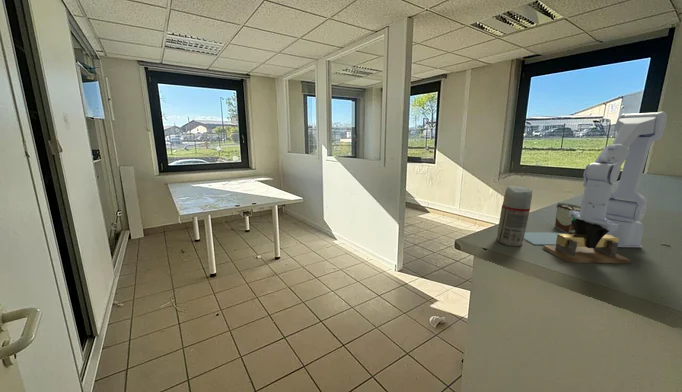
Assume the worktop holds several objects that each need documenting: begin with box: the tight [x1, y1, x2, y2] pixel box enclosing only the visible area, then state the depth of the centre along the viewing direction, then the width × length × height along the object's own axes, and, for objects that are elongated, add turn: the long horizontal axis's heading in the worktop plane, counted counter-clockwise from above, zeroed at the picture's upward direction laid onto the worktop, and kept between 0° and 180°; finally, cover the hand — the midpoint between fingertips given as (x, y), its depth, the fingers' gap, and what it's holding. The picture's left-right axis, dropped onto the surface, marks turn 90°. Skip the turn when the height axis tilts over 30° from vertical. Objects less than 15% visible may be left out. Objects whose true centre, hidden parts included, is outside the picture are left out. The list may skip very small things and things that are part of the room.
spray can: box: [495, 185, 533, 247], centre depth 92 cm, size 8×8×20 cm
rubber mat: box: [523, 231, 567, 246], centre depth 98 cm, size 20×12×1 cm, turn 89°
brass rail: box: [556, 234, 619, 247], centre depth 83 cm, size 16×3×3 cm, turn 89°
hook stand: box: [542, 241, 631, 264], centre depth 83 cm, size 18×10×6 cm, turn 89°
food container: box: [554, 202, 581, 234], centre depth 106 cm, size 12×6×10 cm, turn 168°
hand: (585, 245), depth 83 cm, fingers closed on brass rail, 3 cm apart
